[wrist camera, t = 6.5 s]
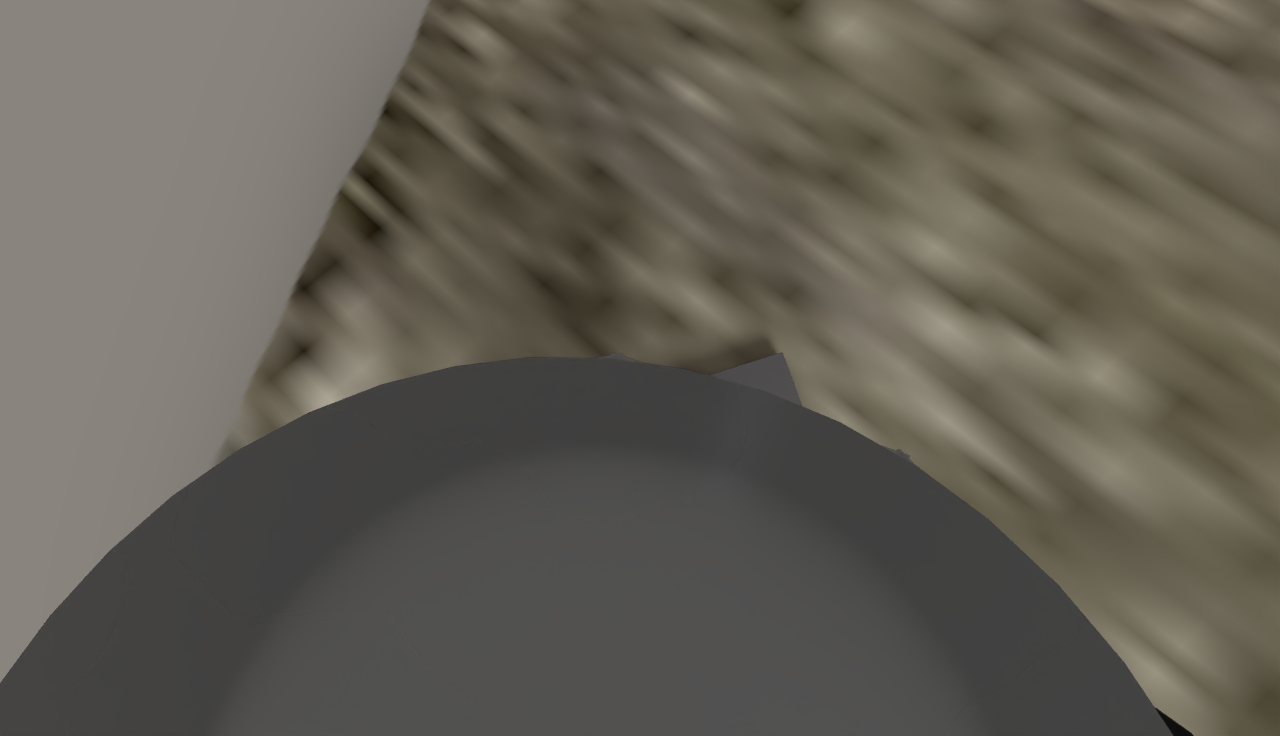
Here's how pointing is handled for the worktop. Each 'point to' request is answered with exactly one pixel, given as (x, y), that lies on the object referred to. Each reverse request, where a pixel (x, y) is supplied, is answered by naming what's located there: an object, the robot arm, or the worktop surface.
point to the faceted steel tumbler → (569, 581)
